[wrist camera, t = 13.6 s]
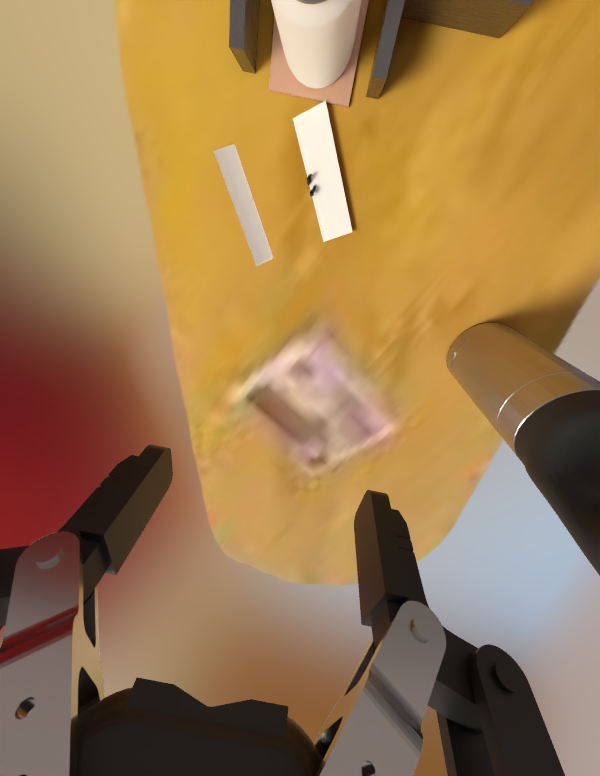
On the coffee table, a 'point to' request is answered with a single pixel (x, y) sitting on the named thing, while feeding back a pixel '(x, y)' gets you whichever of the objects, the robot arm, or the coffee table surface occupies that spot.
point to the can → (317, 37)
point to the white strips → (321, 179)
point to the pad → (289, 85)
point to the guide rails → (388, 27)
